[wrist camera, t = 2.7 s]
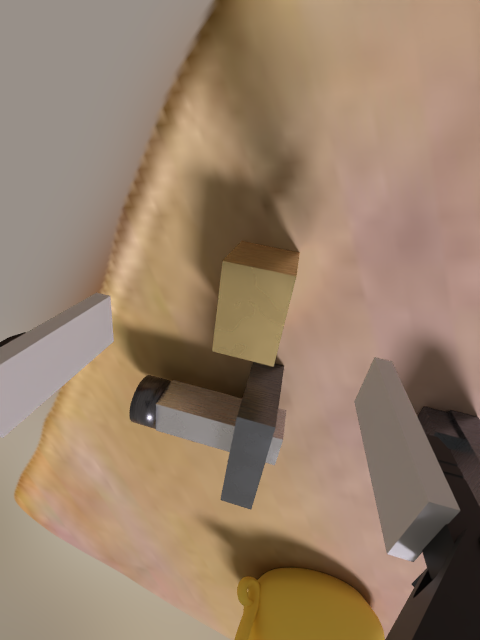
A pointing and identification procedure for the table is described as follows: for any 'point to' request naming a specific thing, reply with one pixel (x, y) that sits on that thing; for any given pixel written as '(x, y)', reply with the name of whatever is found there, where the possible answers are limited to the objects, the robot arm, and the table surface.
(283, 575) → the teapot
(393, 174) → the table surface
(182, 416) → the shaft
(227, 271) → the block
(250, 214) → the table surface
